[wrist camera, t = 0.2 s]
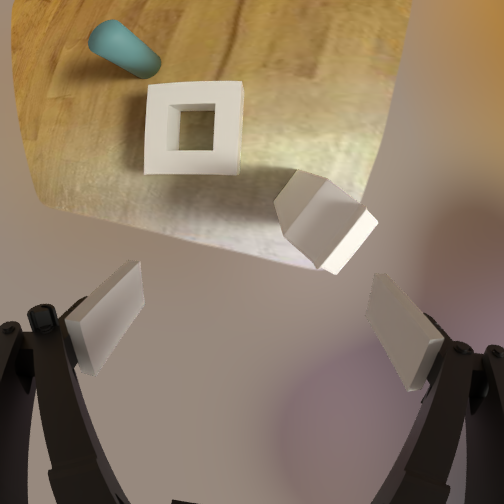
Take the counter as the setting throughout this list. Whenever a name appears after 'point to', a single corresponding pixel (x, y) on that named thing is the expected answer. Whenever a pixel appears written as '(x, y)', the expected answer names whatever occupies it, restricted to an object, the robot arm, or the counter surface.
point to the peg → (124, 49)
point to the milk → (322, 220)
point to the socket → (168, 127)
